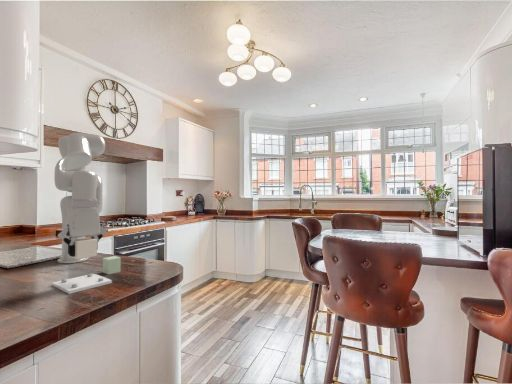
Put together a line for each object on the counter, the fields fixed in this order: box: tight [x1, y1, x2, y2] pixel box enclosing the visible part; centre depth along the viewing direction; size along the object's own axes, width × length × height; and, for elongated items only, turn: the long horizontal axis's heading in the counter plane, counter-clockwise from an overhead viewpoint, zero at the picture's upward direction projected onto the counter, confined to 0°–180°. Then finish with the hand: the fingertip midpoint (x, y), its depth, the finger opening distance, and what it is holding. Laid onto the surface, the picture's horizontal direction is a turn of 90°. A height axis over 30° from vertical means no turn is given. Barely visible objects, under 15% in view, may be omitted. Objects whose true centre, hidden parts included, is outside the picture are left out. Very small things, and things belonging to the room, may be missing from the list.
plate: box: [51, 273, 113, 295], centre depth 99 cm, size 14×14×2 cm
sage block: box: [102, 255, 122, 275], centre depth 115 cm, size 5×5×6 cm
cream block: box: [69, 237, 98, 259], centre depth 99 cm, size 6×6×6 cm
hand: (83, 253), depth 99 cm, fingers closed on cream block, 6 cm apart
